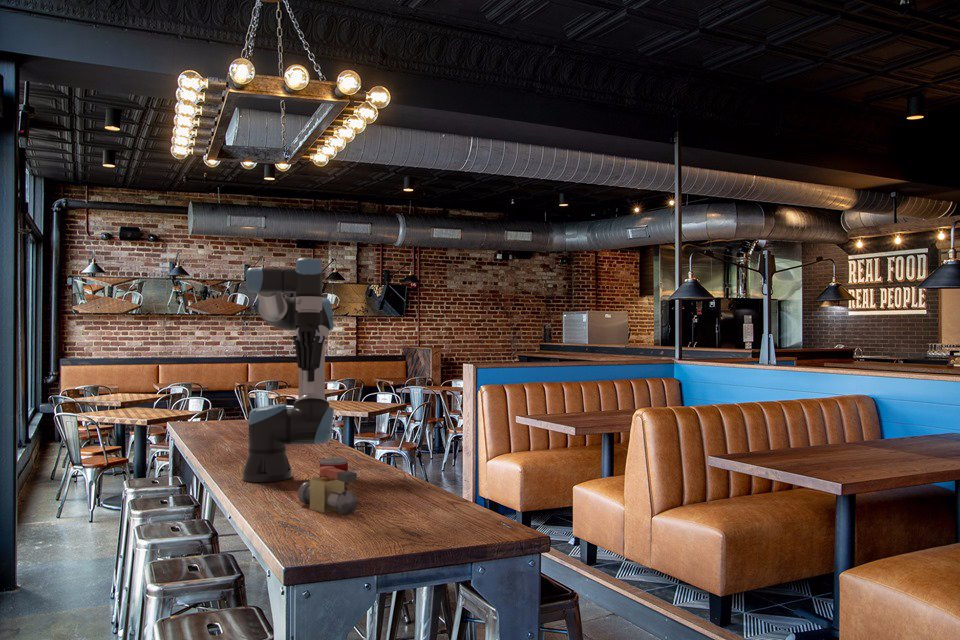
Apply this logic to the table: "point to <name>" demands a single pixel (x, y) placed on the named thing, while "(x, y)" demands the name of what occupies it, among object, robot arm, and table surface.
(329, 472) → the lever
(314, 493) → the valve pipe
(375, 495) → the table surface
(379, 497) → the table surface
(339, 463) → the canned food
